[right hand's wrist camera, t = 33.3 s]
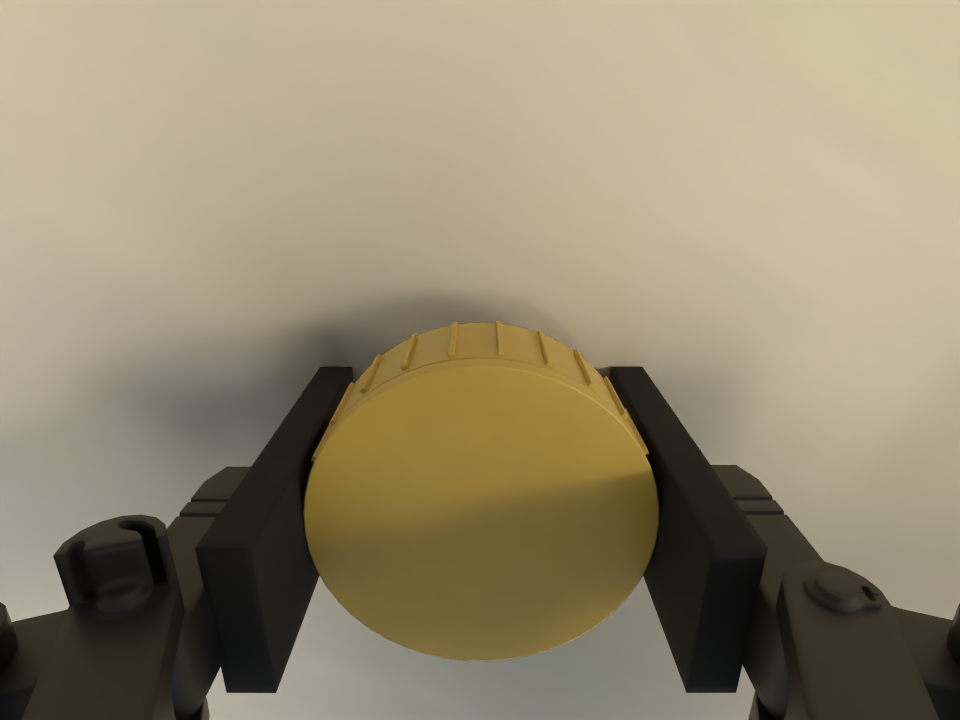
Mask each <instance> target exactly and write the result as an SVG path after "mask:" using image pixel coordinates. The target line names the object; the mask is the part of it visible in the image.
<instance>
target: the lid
mask: <svg viewBox="0 0 960 720" xmlns="http://www.w3.org/2000/svg"><path fill="white" fill-rule="evenodd" d="M646 454H649V452H648V450H647V447H646V446H645V444H644V442H643V440H642V438H641V436H640V434H639V432H638V430H637V429H636V427H635V425H634V423H633V421H632V419H631V417H630V415H629V413H628V412H627V410H626V408H625V409H624V407H623V405H622V403H621V401H620V399H619V397H618V396H617V394H616V392H615V390H614V388H613V386H612V384H611V382H610V380H609V379H608V377H607V376H605V377H604V378H603V377H602V376H601V375H600V374H599V373H598V372H597V371H596V370H595V368H594V367H593V366H592V365H591V364H590V363H589V362H587V361H586V360H585V359H584V358H583V356H582V354H581V352H580V351H579V350H578V349H576V350H575V351H573V350H572V349H570V348H569V347H567V346H565V345H564V344H562V343H560V342H559V341H557V340H555V339H552V338H550V337H548V336H546V335H545V333H544V331H541V330H539V331H538V332H535V331H532V330H528V329H525V328H522V327H518V326H512V325H506V324H502V321H496V323H466V324H458V322H452V325H450V326H446V327H441V328H437V329H433V330H430V331H428V332H425V333H422V334H419V335H417V334H416V333H414V334H412V335H411V336H410V339H408V340H406V341H404V342H402V343H400V344H398V345H397V346H395V347H394V348H392V349H391V350H389V351H388V352H386V353H385V354H383V355H382V356H381V355H380V354H378V355H377V356H376V357H375V359H374V361H373V363H372V365H371V366H370V367H369V368H367V369H366V371H365V372H364V373H363V374H362V375H361V377H360V378H359V379H358V380H357V382H356V383H355V384H354V383H352V382H351V383H350V385H349V386H348V388H347V390H346V392H345V394H344V396H343V398H342V400H341V402H340V404H339V405H338V407H337V409H336V411H335V413H334V415H333V417H332V419H331V421H330V423H329V426H328V427H327V429H326V431H325V433H324V435H323V437H322V439H321V441H320V443H319V445H318V447H317V449H316V451H315V453H314V455H313V457H312V460H311V461H312V462H314V464H313V466H312V469H311V471H310V474H309V477H308V481H307V486H306V490H305V495H304V508H303V518H304V529H305V536H306V540H307V544H308V548H309V552H310V555H311V557H312V560H313V562H314V565H315V567H316V569H317V571H318V573H319V575H320V576H321V578H322V580H323V582H324V583H325V585H326V587H327V588H328V589H329V590H330V592H331V593H332V594H333V596H334V597H335V598H336V599H337V601H338V602H339V603H340V604H341V605H342V606H343V607H344V608H345V609H346V610H347V611H348V612H349V613H350V614H351V615H352V616H354V617H355V618H356V619H357V620H359V621H360V622H361V623H363V624H364V625H365V626H367V627H368V628H369V629H371V630H373V631H374V632H376V633H378V634H379V635H381V636H383V637H384V638H386V639H388V640H390V641H393V642H395V643H397V644H399V645H401V646H403V647H406V648H409V649H412V650H415V651H418V652H421V653H424V654H428V655H433V656H437V657H441V658H447V659H455V660H463V661H497V660H508V659H514V658H520V657H526V656H530V655H534V654H537V653H541V652H545V651H548V650H550V649H553V648H556V647H558V646H561V645H563V644H566V643H568V642H570V641H572V640H574V639H576V638H578V637H580V636H581V635H583V634H585V633H586V632H588V631H590V630H591V629H593V628H594V627H596V626H597V625H599V624H600V623H601V622H603V621H604V620H605V619H606V618H607V617H608V616H610V615H611V614H612V613H613V612H614V611H616V609H617V608H618V607H619V606H620V605H621V604H622V603H623V602H624V601H625V600H626V599H627V598H628V596H629V595H630V594H631V592H632V591H633V590H634V588H635V587H636V585H637V584H638V582H639V581H640V579H641V577H642V576H643V574H644V572H645V570H646V568H647V566H648V564H649V562H650V559H651V556H652V553H653V550H654V547H655V543H656V538H657V533H658V527H659V499H658V492H657V485H656V482H655V479H654V475H653V472H652V469H651V466H650V464H649V462H648V460H647V458H646Z"/></svg>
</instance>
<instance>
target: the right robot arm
mask: <svg viewBox="0 0 960 720" xmlns="http://www.w3.org/2000/svg"><path fill="white" fill-rule="evenodd" d="M351 382H352V383H353V374H352V367H320V369H319V370H318V371H317V373H316V374H315V376H314V377H313V379H312V380H311V382H310V383H309V384H308V386H307V387H306V389H305V390H304V392H303V393H302V395H301V396H300V397H299V399H298V400H297V402H296V403H295V405H294V406H293V408H292V409H291V410H290V412H289V413H288V415H287V416H286V418H285V419H284V421H283V422H282V423H281V425H280V426H279V428H278V429H277V431H276V432H275V434H274V435H273V436H272V438H271V439H270V441H269V442H268V444H267V445H266V446H265V448H264V449H263V451H262V452H261V454H260V455H259V457H258V458H257V459H256V461H255V462H254V464H253V465H252V467H226V468H225V469H223V470H222V471H220V472H219V473H217V474H215V475H214V476H212V477H211V478H209V479H208V480H206V481H205V482H204V483H203V484H202V486H201V487H200V488H199V489H198V491H197V492H196V493H195V494H194V496H193V497H192V498H191V502H188V503H187V505H186V506H185V507H184V508H183V510H182V511H181V512H180V516H179V517H176V518H175V520H174V521H173V522H172V523H171V525H170V526H169V527H168V528H167V530H166V526H165V524H164V523H163V522H161V521H160V520H159V519H158V518H156V517H151V516H146V515H130V516H121V517H117V518H113V519H109V520H106V521H102V522H99V523H97V524H95V525H93V526H90V527H88V528H86V529H84V530H82V531H80V532H78V533H77V534H76V535H74V536H73V537H71V538H70V539H69V540H67V541H66V542H64V543H63V544H62V546H61V547H60V548H59V549H58V551H57V552H56V553H55V554H54V555H53V556H54V559H55V563H56V566H57V569H58V572H59V575H60V578H61V581H62V584H63V587H64V590H65V593H66V596H67V599H68V602H69V605H70V606H69V608H68V610H64V611H60V612H56V613H51V614H47V615H42V616H38V617H33V618H29V619H24V620H19V621H15V622H11V619H10V617H9V614H8V612H7V609H6V606H5V605H4V604H2V603H1V602H0V720H209V709H208V703H207V698H206V695H207V693H208V691H209V689H210V687H211V685H212V683H213V681H214V679H215V677H216V675H217V673H218V671H219V669H220V667H221V669H222V673H223V678H224V682H225V687H226V692H227V693H276V691H277V689H278V686H279V683H280V681H281V678H282V675H283V673H284V670H285V667H286V664H287V662H288V659H289V656H290V654H291V651H292V648H293V646H294V643H295V640H296V637H297V635H298V632H299V629H300V627H301V624H302V621H303V619H304V616H305V613H306V610H307V608H308V605H309V602H310V600H311V597H312V594H313V592H314V589H315V586H316V583H317V581H318V578H319V573H318V571H317V569H316V567H315V565H314V562H313V560H312V557H311V555H310V552H309V548H308V544H307V540H306V536H305V529H304V518H303V508H304V495H305V490H306V486H307V481H308V477H309V474H310V471H311V469H312V466H313V464H314V462H312V461H311V460H312V457H313V455H314V453H315V451H316V449H317V447H318V445H319V443H320V441H321V439H322V437H323V435H324V433H325V431H326V429H327V427H328V426H329V423H330V421H331V419H332V417H333V415H334V413H335V411H336V409H337V407H338V405H339V404H340V402H341V400H342V398H343V396H344V394H345V392H346V390H347V388H348V386H349V385H350V383H351ZM610 382H611V384H612V386H613V388H614V390H615V392H616V394H617V396H618V397H619V399H620V401H621V403H622V405H623V407H624V409H625V408H626V410H627V412H628V413H629V415H630V417H631V419H632V421H633V423H634V425H635V427H636V429H637V430H638V432H639V434H640V436H641V438H642V440H643V442H644V444H645V446H646V447H647V450H648V452H649V454H646V458H647V460H648V462H649V464H650V466H651V469H652V472H653V475H654V479H655V482H656V485H657V492H658V499H659V527H658V533H657V538H656V543H655V547H654V550H653V553H652V556H651V559H650V562H649V564H648V566H647V568H646V570H645V572H644V574H643V576H644V579H645V581H646V584H647V587H648V590H649V592H650V595H651V598H652V600H653V603H654V606H655V609H656V611H657V614H658V617H659V619H660V622H661V625H662V627H663V630H664V633H665V636H666V638H667V641H668V644H669V646H670V649H671V652H672V654H673V657H674V660H675V663H676V665H677V668H678V671H679V673H680V676H681V679H682V682H683V684H684V687H685V690H686V692H687V693H736V690H737V686H738V681H739V677H740V672H741V668H742V664H743V666H744V668H745V670H746V672H747V674H748V676H749V678H750V680H751V682H752V685H753V687H754V689H755V694H754V698H753V703H752V707H751V711H750V715H749V719H748V720H960V604H959V606H958V609H957V611H956V614H955V616H954V619H953V620H948V619H944V618H939V617H935V616H930V615H926V614H921V613H917V612H912V611H908V610H903V609H900V608H896V607H893V606H891V605H890V603H889V602H888V600H887V599H886V597H885V596H884V595H883V593H882V592H881V590H879V589H878V588H877V587H876V586H874V585H873V584H872V583H871V582H869V581H868V580H867V579H866V578H864V577H862V576H860V575H858V574H856V573H854V572H852V571H850V570H848V569H847V568H844V567H841V566H837V565H834V564H830V563H827V562H824V561H823V559H822V558H821V557H820V556H819V554H818V553H817V552H816V551H815V549H814V548H813V547H812V546H811V544H810V543H809V542H808V541H807V539H806V538H805V537H804V536H803V534H802V533H801V532H800V531H799V529H798V528H797V527H796V526H795V525H794V523H793V522H792V521H791V520H790V518H789V517H788V516H787V515H784V511H783V510H782V508H781V507H780V506H779V505H778V503H777V502H776V501H775V500H773V499H772V496H771V495H770V493H769V492H768V491H767V490H766V488H765V487H764V486H763V485H762V483H761V482H760V481H759V480H758V479H757V478H755V477H754V476H752V475H751V474H749V473H747V472H746V471H744V470H743V469H741V468H740V467H738V466H737V465H710V464H709V462H708V461H707V459H706V458H705V457H704V455H703V454H702V452H701V451H700V449H699V448H698V446H697V445H696V444H695V442H694V441H693V439H692V438H691V436H690V435H689V434H688V432H687V431H686V429H685V428H684V426H683V425H682V423H681V422H680V421H679V419H678V418H677V416H676V415H675V413H674V412H673V410H672V409H671V408H670V406H669V405H668V403H667V402H666V400H665V399H664V397H663V396H662V395H661V393H660V392H659V390H658V389H657V387H656V386H655V384H654V383H653V382H652V380H651V379H650V377H649V376H648V374H647V373H646V372H645V370H644V369H643V367H611V373H610Z"/></svg>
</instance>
